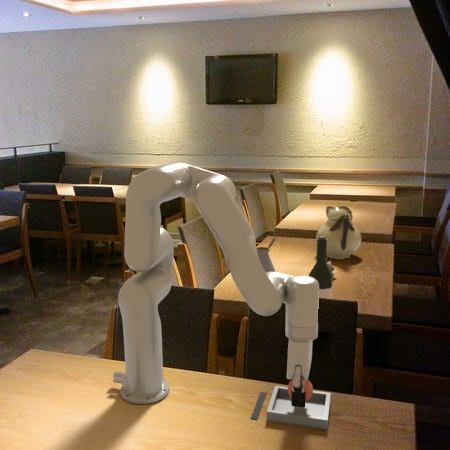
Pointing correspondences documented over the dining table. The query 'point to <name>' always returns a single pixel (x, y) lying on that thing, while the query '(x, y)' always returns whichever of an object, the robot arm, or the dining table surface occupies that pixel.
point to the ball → (307, 388)
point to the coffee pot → (266, 257)
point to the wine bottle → (322, 270)
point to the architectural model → (331, 268)
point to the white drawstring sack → (340, 233)
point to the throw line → (258, 405)
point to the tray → (299, 409)
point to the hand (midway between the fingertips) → (299, 398)
